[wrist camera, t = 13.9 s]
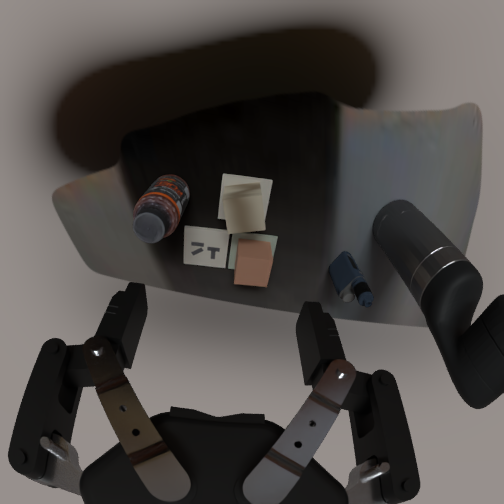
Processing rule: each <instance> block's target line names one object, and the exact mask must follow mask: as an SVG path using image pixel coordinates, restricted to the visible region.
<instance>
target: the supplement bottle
mask: <svg viewBox="0 0 504 504" xmlns="http://www.w3.org/2000/svg"><path fill="white" fill-rule="evenodd" d="M189 198H190V191H189V187H188V185H187V183H186V182H185V181H184V180H183V179H182V178H180V177H178V176H176V175H164V176H161V177H159V178H158V179H157V180H156V181H155V182H154V183H153V184H152V185H151V186H150V188H149V189H148V190H147V191H146V192H145V193H144V195H143V196H142V197H141V198H140V200H139V201H138V202H137V204H136V205H135V208H134V212H133V218H134V222H133V230H134V233H135V234H136V236H137V237H138V238H139V239H140V240H142V241H143V242H146V243H156V242H158V241H160V240H161V239H162V238H165V237H167V236H169V235H170V234H172V233H173V232H174V231H175V229H176V228H177V226H178V223H179V221H180V219H181V217H182V215H183V213H184V210H185V208H186V206H187V204H188V201H189Z"/></svg>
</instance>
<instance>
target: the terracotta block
mask: <svg viewBox="0 0 504 504" xmlns="http://www.w3.org/2000/svg"><path fill="white" fill-rule="evenodd" d="M272 263H273V256H272V250H271V243H270V242H266V241H257V240H249V239H240V238H239V239H238V246H237V253H236V259H235V272H234V284H241V285H251V286H262V287H267V284H268V280H269V276H270V271H271V267H272Z"/></svg>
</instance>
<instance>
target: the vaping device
mask: <svg viewBox="0 0 504 504" xmlns="http://www.w3.org/2000/svg"><path fill="white" fill-rule="evenodd" d="M329 273H330V276H331V278H332V281H333V284H334V286H335V289H336V292H337V294H338V295H339V296H340V298H341V299H342V300H343V301H344V302H345V303H349V302H351V301H353V300H354V298H355V295H356V297H357V300H358V302H359V304H360V305H361V306H365V307H370V306H371V305H372V303H371V302H372V301H373V299H374V297H373V295H372V293H371V291H370V289H369V287H368V285H367V283H366V280H365V278H364V276H363V273H362V272H361V271H360V270H359V268H358V266H357V264H356V263H355V261H354V259H353V257H352V256H351V254H350V253H348V252H345V251H344V252H342V253H341V254H340V255H339V256H338V257H337V258H336V260H335V261H334V262H333V263H332V264H331V265H330V266H329ZM354 294H355V295H354Z"/></svg>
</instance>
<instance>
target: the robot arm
mask: <svg viewBox="0 0 504 504" xmlns="http://www.w3.org/2000/svg"><path fill="white" fill-rule="evenodd" d="M373 233H374V237H375V239H376V241H377V242H378V243H379V245H380V246H381V248H382V249H383V251H384V252H385V254H386V255H387V257H388V258H389V260H390V261H391V263H392V264H393V266H394V267H395V269H396V270H397V272H398V273H399V275H400V276H401V278H402V279H403V281H404V283H405V284H406V286H407V287H408V289H409V291H410V292H411V294H412V295H413V297H414V299H415V300H416V302H417V304H418V305H419V307H420V309H421V310H422V312H423V314H424V315H425V318H426V322H427V325H428V327H429V329H430V331H431V333H432V335H433V337H434V339H435V341H436V343H437V346H438V348H439V350H440V353H441V355H442V357H443V360H444V362H445V365H446V367H447V370H448V372H449V375H450V377H451V379H452V382H453V383H454V385H455V387H456V389H457V391H458V393H459V394H460V396H461V397H462V399H463V400H464V401H465V402H466V403H467V404H468V405H469V406H470V407H473V408H475V409H481V408H484V407H486V406H487V405H489V404H490V403H491V402H493V401H494V400H495V399H497V398H498V397H499V396H500V395H501V394H502V393H504V295H500V296H498V297H497V298H496V299H495V300H494V301H493V302H492V303H491V304H490V305H489V306H488V307H487V308H486V309H485V310H484V312H483V313H482V314H481V315H480V316H479V318H477V320H476V321H475V322H474V323H473V324H472V325H471V321H472V317H473V314H474V312H475V309H476V307H477V304H478V302H479V300H480V297H481V294H482V290H483V281H482V277H481V275H480V273H479V272H478V270H477V269H476V268H475V267H474V266H473V265H472V264H471V262H470V261H469V260H468V259H467V258H466V257H465V256H464V255H463V254H462V252H461V251H460V250H459V249H458V248H457V247H456V246H455V245H454V244H453V243H452V242H451V241H450V240H449V239H448V238H447V237H446V236H445V235H444V234H443V233H442V232H441V231H440V230H439V229H438V228H437V227H436V226H435V225H434V224H433V223H432V222H431V221H430V220H429V219H428V218H427V217H426V216H425V215H424V214H423V213H422V212H421V211H419V210H418V209H417V208H416V207H415V206H414V205H413V204H412V203H410V202H408V201H405V200H396V201H393V202H391V203H389V204H387V205H386V206H384V207H383V208H382V209H381V210H380V212H379V213H378V215H377V216H376V219H375V221H374V225H373ZM147 309H148V306H147V298H146V290H145V285H144V284H141V283H134V282H130V283H129V284H128V286H127V288H126V290H125V291H118V292H117V293H116V294H115V295H114V296H113V297H112V299H111V301H110V303H109V306H108V307H107V310H106V313H105V314H104V316H103V318H102V321H101V323H100V325H99V327H98V330H97V332H96V334H95V336H94V337H91V338H89V339H88V340H86V341H85V343H84V344H82V345H69V346H66V344H65V342H64V341H63V340H61V339H58V338H52V339H49V340H48V341H46V342H45V343H44V344H43V346H42V348H41V351H40V353H39V355H38V358H37V360H36V363H35V365H34V368H33V370H32V373H31V376H30V379H29V381H28V384H27V387H26V390H25V393H24V396H23V399H22V402H21V405H20V408H19V412H18V415H17V419H16V422H15V426H14V430H13V434H12V438H11V442H10V447H9V451H8V458H9V462H10V464H11V466H12V467H13V469H14V470H15V471H17V472H18V473H20V474H22V475H25V476H26V477H27V478H29V479H31V480H33V481H36V482H38V483H40V484H43V485H47V486H49V487H52V488H61V489H64V490H66V491H69V492H72V493H75V494H78V495H81V496H82V499H83V501H84V504H398V503H401V502H405V501H408V500H411V499H412V498H414V497H415V496H416V495H417V493H418V491H419V489H420V478H419V473H418V468H417V463H416V458H415V453H414V448H413V444H412V439H411V435H410V431H409V427H408V423H407V419H406V415H405V411H404V408H403V404H402V400H401V397H400V393H399V390H398V386H397V383H396V380H395V378H394V376H393V375H392V374H391V373H390V372H388V371H386V370H377V371H375V372H374V373H373V374H372V375H371V374H367V373H363V372H359V371H356V369H355V367H354V366H353V365H352V364H351V363H350V362H348V361H346V358H345V354H344V351H343V348H342V344H341V341H340V338H339V336H338V335H339V334H338V331H337V328H336V325H335V321H334V319H333V318H332V317H331V316H330V314H329V313H323V310H322V307H321V304H320V303H319V302H307V301H305V302H304V304H303V307H302V309H301V312H300V315H299V318H298V320H297V323H296V336H297V342H298V348H299V353H300V359H301V365H302V371H303V377H304V383H305V385H312V388H313V391H312V392H311V394H310V395H309V397H308V398H307V400H306V401H305V403H304V404H303V405H302V407H301V408H300V410H299V411H298V413H297V414H296V415H295V417H294V418H293V420H292V421H291V422H290V424H289V425H288V426H287V428H286V429H283V428H282V427H281V426H279V425H277V424H275V423H273V422H270V421H268V420H265V416H264V414H244V413H243V414H242V413H241V414H235V415H229V416H223V417H215V416H211V415H208V414H206V413H203V412H200V411H197V410H194V409H185V408H178V407H172V406H171V409H170V412H165V413H160V414H157V415H154V416H152V417H150V418H149V417H148V415H147V414H146V412H145V410H144V408H143V407H142V405H141V403H140V401H139V399H138V398H137V396H136V394H135V392H134V390H133V388H132V386H131V384H130V383H129V381H128V379H127V377H126V376H125V374H124V372H123V370H124V368H129V369H131V367H132V363H133V360H134V356H135V353H136V349H137V346H138V343H139V339H140V336H141V333H142V329H143V326H144V323H145V320H146V317H147ZM91 386H95V387H96V388H95V389H96V392H97V395H98V397H99V399H100V402H101V404H102V406H103V408H104V411H105V413H106V415H107V417H108V419H109V421H110V423H111V425H112V427H113V429H114V431H115V433H116V435H117V437H118V439H119V441H120V442H119V443H118V444H116V445H115V446H114V447H112V448H111V449H110V450H109V451H107V452H106V453H105V454H103V455H102V456H101V457H99V458H98V459H97V460H95V461H94V462H93V463H92V464H90V465H89V466H88V467H87V468H86V469H85V470H84V471H82V470H81V468H80V466H79V462H78V453H77V451H76V449H75V448H74V447H73V446H72V445H71V444H70V443H71V437H72V432H73V427H74V422H75V418H76V414H77V409H78V405H79V401H80V397H81V393H82V389H83V387H91ZM341 409H344V410H348V411H349V417H350V423H351V429H352V436H353V443H354V450H355V458H356V467H355V468H354V469H352V471H351V472H350V474H349V482H348V485H347V487H346V488H344V487H343V486H342V485H341V484H340V483H339V482H338V481H337V480H336V479H335V478H334V477H333V476H332V475H331V474H330V473H328V472H327V471H326V470H325V469H324V468H323V467H322V466H321V465H320V464H319V463H318V462H317V461H316V460H315V459H314V458H313V456H314V454H315V452H316V451H317V449H318V448H319V446H320V444H321V443H322V441H323V440H324V438H325V437H326V435H327V433H328V431H329V430H330V428H331V426H332V425H333V423H334V421H335V420H336V418H337V416H338V414H339V412H340V410H341Z"/></svg>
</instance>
